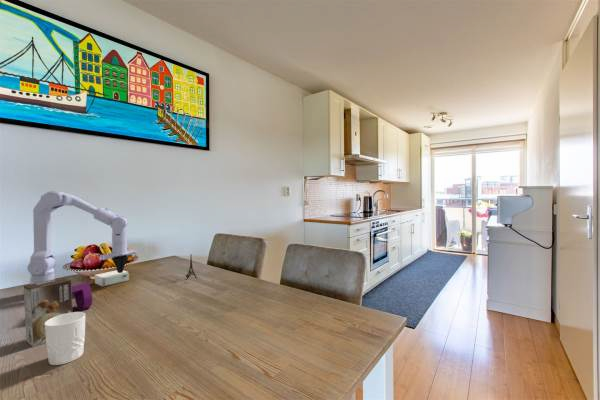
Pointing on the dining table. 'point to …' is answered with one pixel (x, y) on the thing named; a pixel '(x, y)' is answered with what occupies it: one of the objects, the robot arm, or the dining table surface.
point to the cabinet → (108, 274)
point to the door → (115, 279)
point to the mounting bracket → (82, 295)
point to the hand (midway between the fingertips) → (120, 272)
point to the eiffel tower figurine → (190, 269)
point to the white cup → (65, 337)
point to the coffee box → (45, 306)
